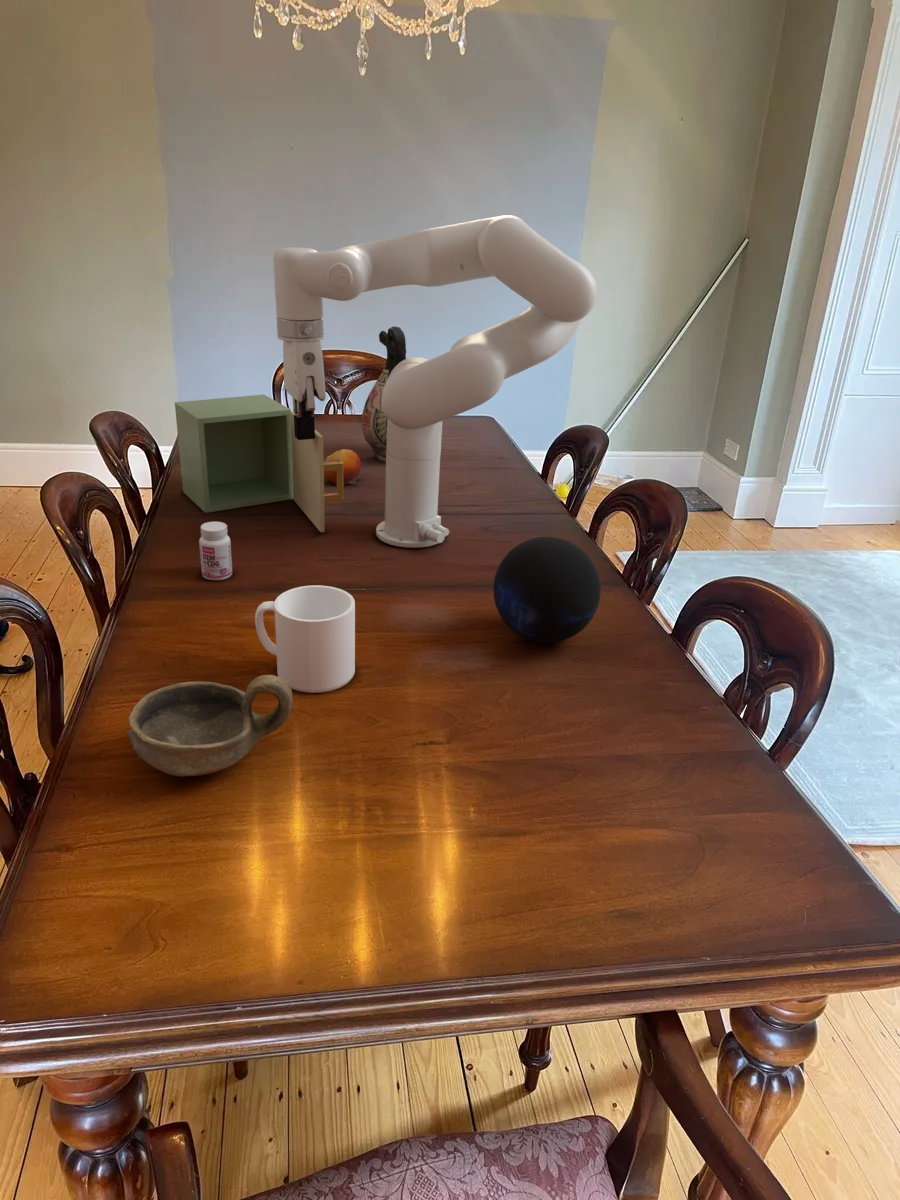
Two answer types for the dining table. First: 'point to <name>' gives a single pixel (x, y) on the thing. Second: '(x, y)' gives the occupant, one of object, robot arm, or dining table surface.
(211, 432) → the cupboard
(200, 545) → the pill bottle
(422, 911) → the dining table surface
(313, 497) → the door
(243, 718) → the bowl
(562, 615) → the decorative sphere
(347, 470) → the fruit
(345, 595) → the mug
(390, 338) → the ceramic jug
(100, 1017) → the dining table surface
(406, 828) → the dining table surface
